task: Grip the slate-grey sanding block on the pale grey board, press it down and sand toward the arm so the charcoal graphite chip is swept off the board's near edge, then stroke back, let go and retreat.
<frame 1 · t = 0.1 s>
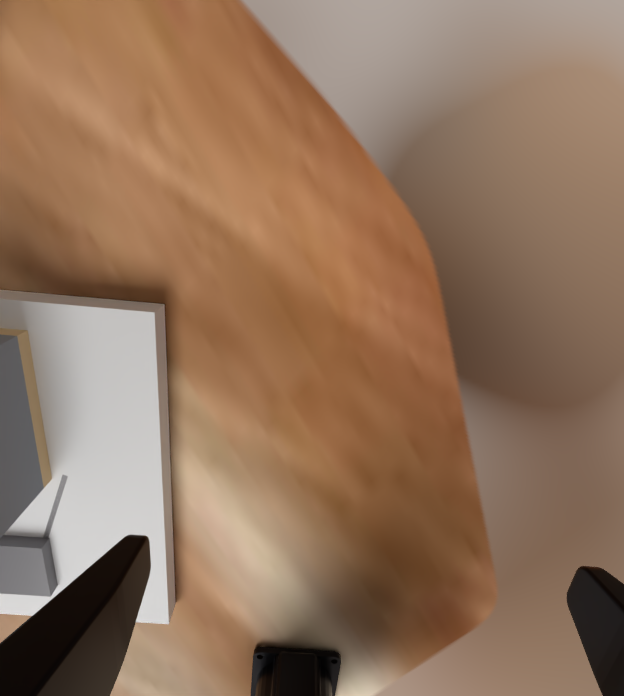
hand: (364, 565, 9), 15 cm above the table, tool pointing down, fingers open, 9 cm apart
board: (21, 465, 26), on the table
graphite chip: (21, 560, 26), point 1 cm above the table, touching board
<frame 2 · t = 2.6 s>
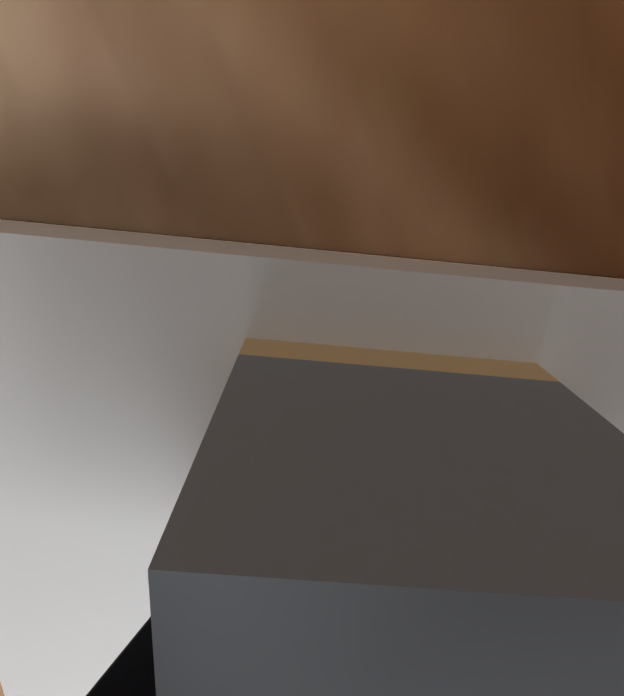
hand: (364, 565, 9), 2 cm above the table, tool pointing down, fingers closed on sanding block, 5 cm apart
board: (332, 622, 13), on the table
sanding block: (360, 534, 10), point 1 cm above the table, touching board, gripper
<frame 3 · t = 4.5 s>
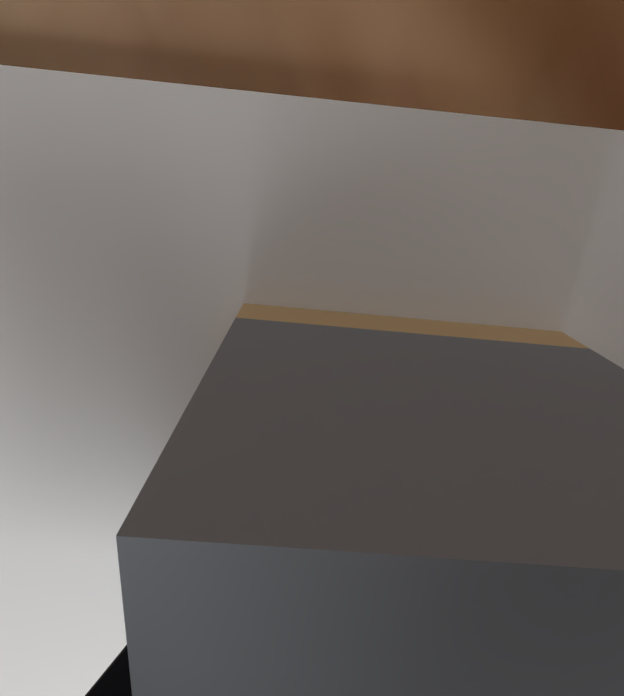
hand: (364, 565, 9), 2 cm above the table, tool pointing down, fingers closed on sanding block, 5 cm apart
board: (339, 576, 11), on the table
sanding block: (367, 521, 9), point 2 cm above the table, touching gripper
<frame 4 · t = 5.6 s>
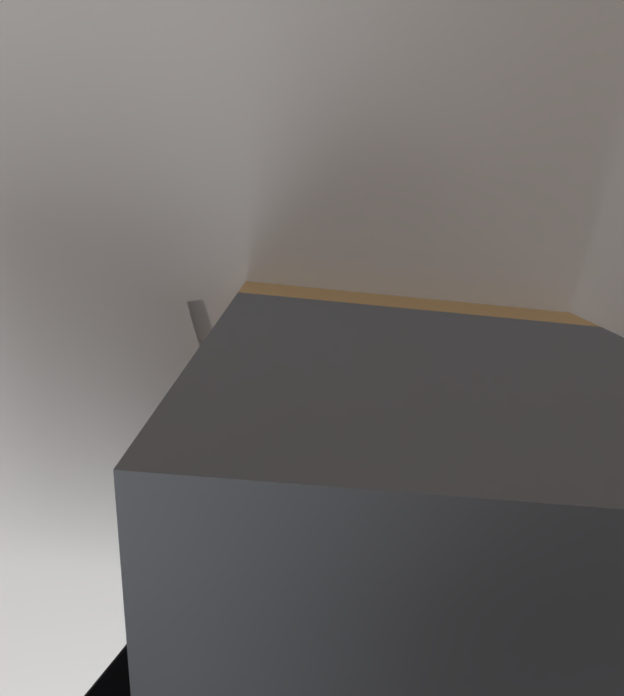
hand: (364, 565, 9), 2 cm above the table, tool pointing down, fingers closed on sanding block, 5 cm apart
board: (366, 398, 9), on the table
sanding block: (370, 512, 9), point 2 cm above the table, touching graphite chip, gripper
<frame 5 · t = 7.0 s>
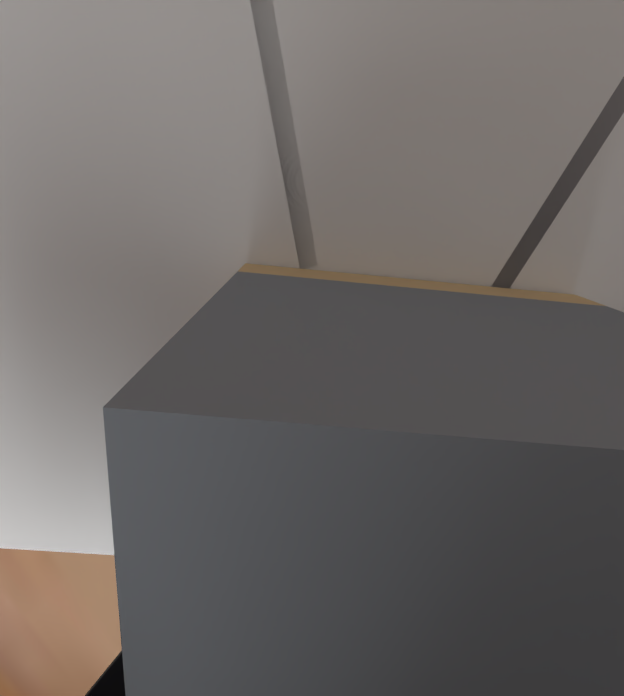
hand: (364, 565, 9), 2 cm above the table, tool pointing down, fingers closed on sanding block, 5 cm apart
sanding block: (373, 502, 8), point 2 cm above the table, touching gripper
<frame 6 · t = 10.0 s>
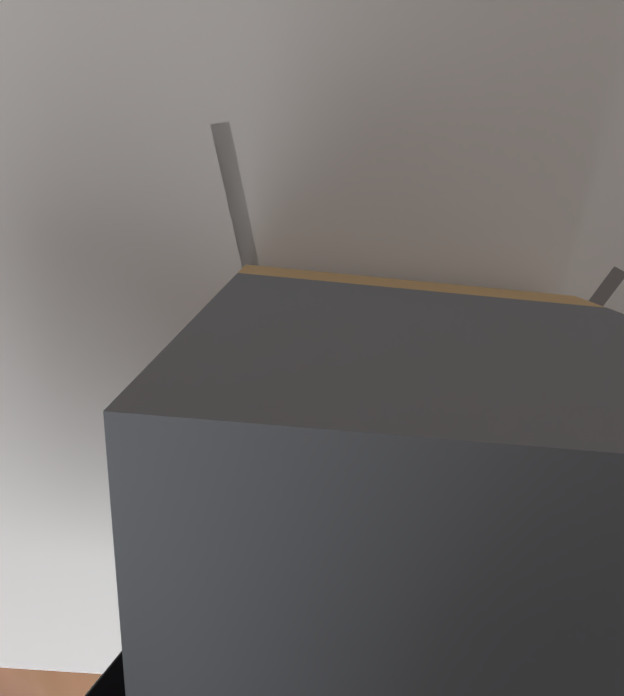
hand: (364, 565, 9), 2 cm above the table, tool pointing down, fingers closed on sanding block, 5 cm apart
board: (394, 277, 9), on the table
sanding block: (373, 503, 8), point 2 cm above the table, touching gripper
when the fingers open (2 cm above the table, at t = 12.6 s): sanding block stays where it is, resting on board.
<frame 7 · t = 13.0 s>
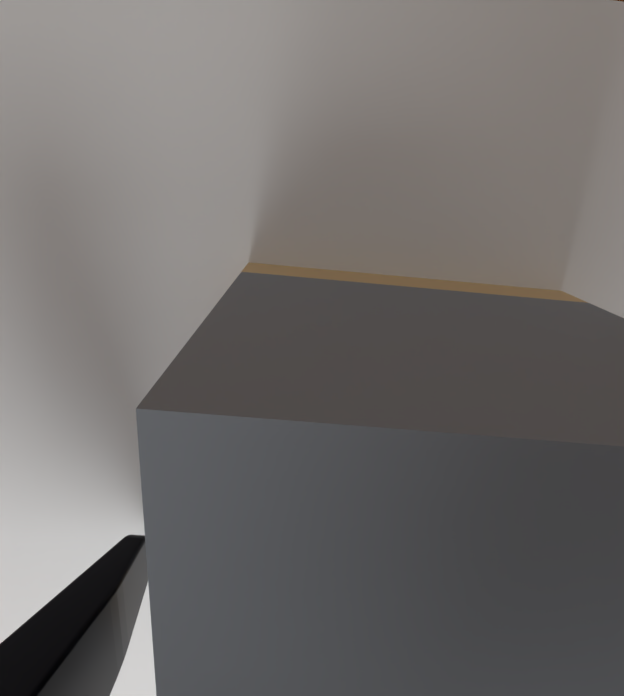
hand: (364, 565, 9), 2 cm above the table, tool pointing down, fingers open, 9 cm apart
board: (348, 519, 11), on the table
sanding block: (370, 485, 9), point 1 cm above the table, touching board
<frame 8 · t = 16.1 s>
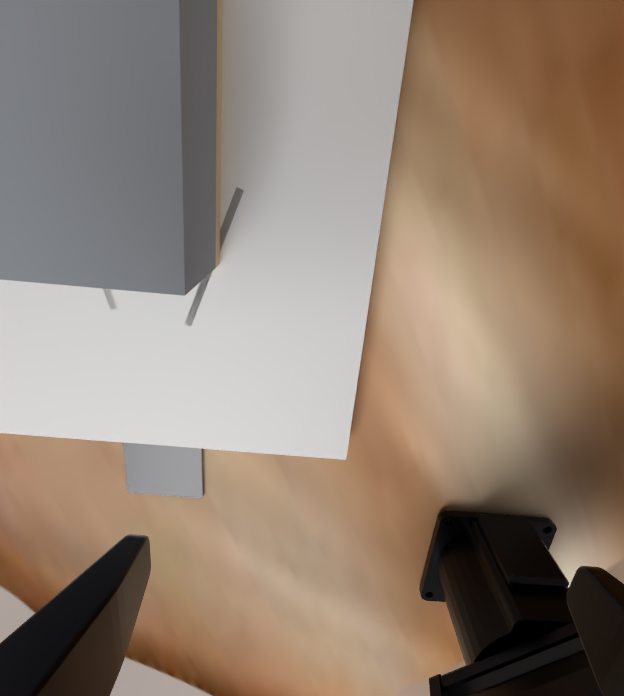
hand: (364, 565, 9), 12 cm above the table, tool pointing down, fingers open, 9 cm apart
board: (160, 200, 17), on the table
sanding block: (144, 133, 15), point 1 cm above the table, touching board
graphite chip: (168, 455, 23), on the table
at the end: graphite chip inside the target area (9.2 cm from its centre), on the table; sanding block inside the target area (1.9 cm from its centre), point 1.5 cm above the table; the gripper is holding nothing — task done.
